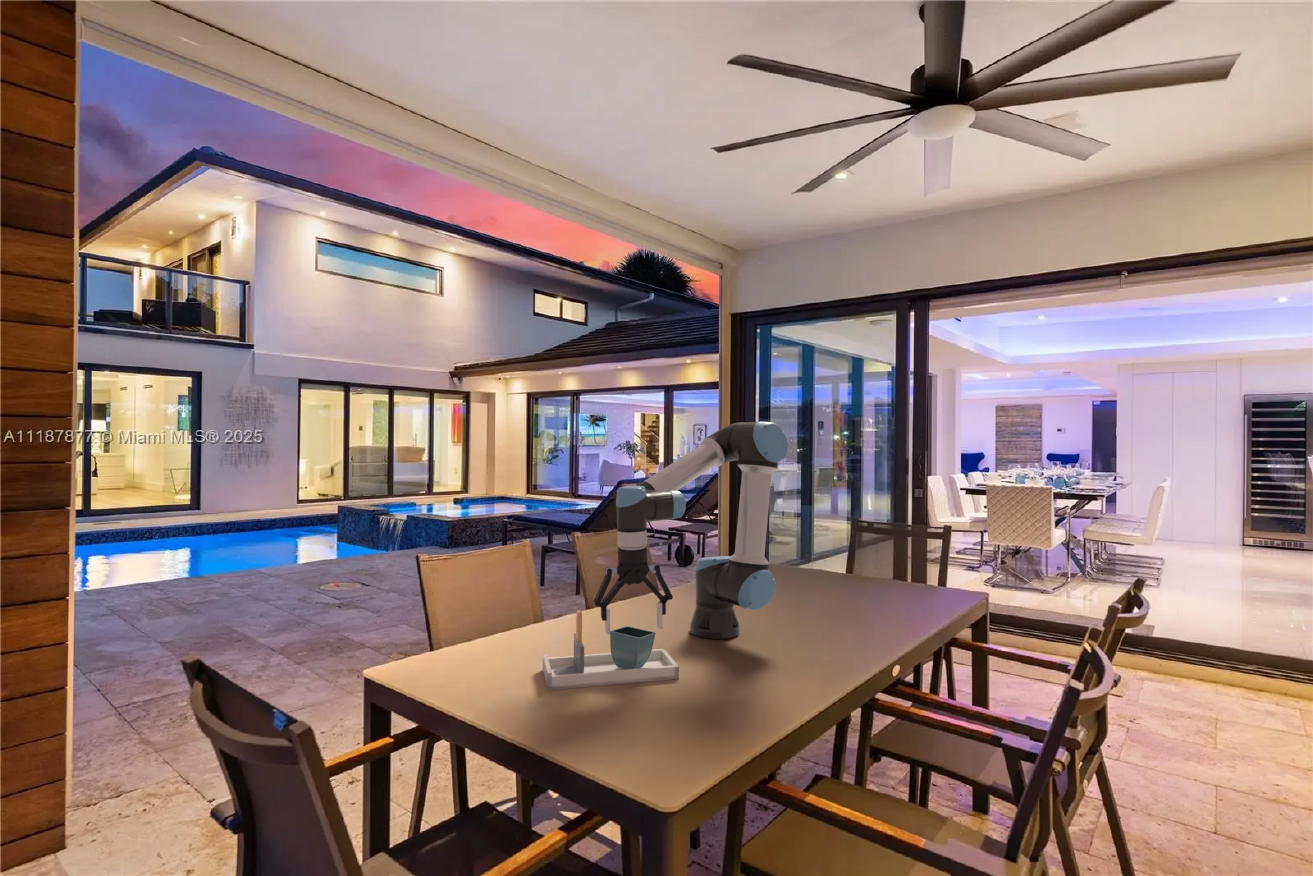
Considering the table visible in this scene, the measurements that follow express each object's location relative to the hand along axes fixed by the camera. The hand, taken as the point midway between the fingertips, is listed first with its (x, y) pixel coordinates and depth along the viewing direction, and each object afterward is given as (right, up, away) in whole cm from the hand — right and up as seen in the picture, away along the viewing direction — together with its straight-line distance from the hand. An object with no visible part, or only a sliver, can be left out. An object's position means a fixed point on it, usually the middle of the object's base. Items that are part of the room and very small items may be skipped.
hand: (634, 630), depth 164 cm
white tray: (-6, -10, -3) cm, 12 cm away
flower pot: (-1, -9, -2) cm, 9 cm away
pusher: (-16, -9, -6) cm, 19 cm away
